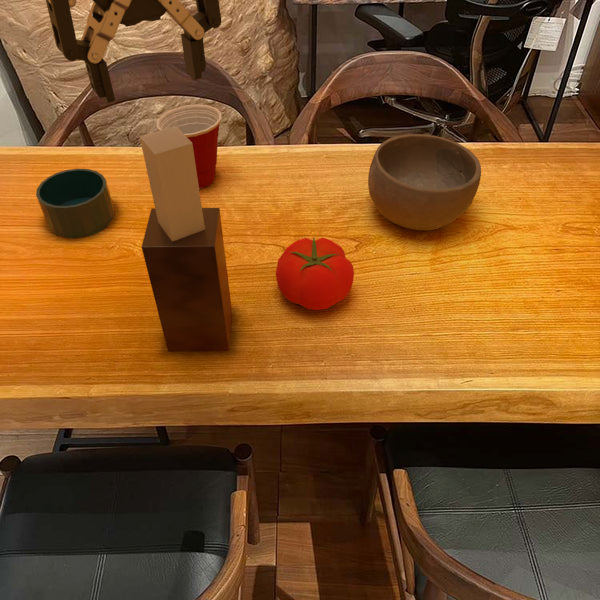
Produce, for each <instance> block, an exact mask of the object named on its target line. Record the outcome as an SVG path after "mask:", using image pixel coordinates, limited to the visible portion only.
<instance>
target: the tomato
mask: <svg viewBox="0 0 600 600" xmlns="http://www.w3.org/2000/svg"><path fill="white" fill-rule="evenodd" d="M354 269H355V268H354V266H353V264H352V262H351V260H349V259H348V258H347V257H346V253H345V250H344V248H343V247H342V246H341V245H339V244H338V243H336V242H334V241H333V240H331V239H329V238H325V237H320V238H318V239H315V237H313V238H312V239H310V238H308V237H304V238H301V239H297V240H296V241H294V242H292V243H291V244H289V245H288V246H287V247H286V248H285V249H284V251H283V253H282V254H281V255H280V256H279V258H278V260H277V264H276V269H275V279H276V283H277V288H278V290H279V291H280V292H281V294H282V295H283V296H284V297H285V299H286V300H288V301H289V302H291V303H293V304H295V305H296V304H297V305H301V306H302V307H304V308H305V309H307V310H314V311H317V310H327V309H329V308H331V307H333V306H334V305H336V304H338V303H340V302H341V301H343V300H345V298H346V297H347V296H348V295H349V292H350V291H351V289H352V287H353V283H354V279H355V278H354V276H355V271H354Z"/></svg>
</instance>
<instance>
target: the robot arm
mask: <svg viewBox="0 0 600 600" xmlns="http://www.w3.org/2000/svg"><path fill="white" fill-rule="evenodd" d="M45 4H46V8H47V11H48V16H49V20H50V24H51V29H52V34H53V38H54V42H55V46H56V48H57V49H58V50H59V52H61V53H62V55H63V56H64V58H65V60H67V61H70V62H75V61H83V62H84V65H85V67H86V68H85V69H86V72H87V76H88V80H89V84H90V87H91V89H92V91H94V93H95V94H96V95H97V97H98V98H99V99H103V100H104V102H105V103H107V104H109V103H113V102H115V101H116V98H115V93H114V89H113V85H112V80H111V76H110V71H109V68H108V64H107V63H108V62H107V61H106V60H105V59H104V54H105V53H106V50H107V48H108V46H109V43H110V42H111V41H113V40H114V38H115V36H116V34H117V32H118V29H119V27H120V25H123V26H125V28H127V27H133V26H136V25H138V24H140V23H142V22H156V21H160V20H162V16H164V15H165V14H167V15H168V16H170V18H171V19H172V20H173V21H174V22H175V23H176V24H177V25H178V26H179V27H180V28H181V29H182V30H183V33H180V39H181V45H182V51H183V52H182V53H183V59H184V66H185V67H184V68H185V71H186V74H187V75H188V76H189V77H190V78H191V79H192V80H193V81H197V80H201V79H202V78H203V74H202V73H203V72H206V68H207V61H206V54H205V46H204V37H205V34H206V33H207V32H208V31H210V30H211V29H218V28H219V27H220V26H221V25H222V15H221V7H220V1H219V0H195V4H196V10H197V12H196V13H195V14H193V15H192V14H191V13H190V12H189V10H188V9H187V8H186V7H185V6H184V5H183V4H182V3H181V2H180V1H179V0H92V4H91V7H90V10H89V12H88V15H87V18H86V25H85V26H86V27H85V28H84V31H83V34H82V36H81V38H80V39H77V36H76V32H75V31H76V30H75V28H74V27H75V26H74V22H73V16H72V12H71V11H72V10H71V9H73V8H74V7H75V6H76V4H77V0H45Z"/></svg>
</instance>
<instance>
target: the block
mask: <svg viewBox="0 0 600 600" xmlns="http://www.w3.org/2000/svg"><path fill="white" fill-rule="evenodd" d="M139 140H140V141H139V142H140V145H141V149H142V154H143V158H144V163H145V168H146V172H147V177H148V181H149V186H150V191H151V196H152V200H153V205H154V208H155V210H156V214H157V219H158V223H159V224H160V226H161V227H162V228H163V230H164V231H165V232H166V234H167V235H168V237H169V238H170V239H171V241H172V242H173V241H176V240H178V239H181V238H184V237H187V236H189V235H192V234H195V233H197V232H200V231H203V230H205V226H204V219H203V212H202V208H203V206H202V200H201V193H200V188H199V185H198V178H197V171H196V165H195V158H194V151H193V144H192V142H191V141H190V140H189V139H188V138H187V137H186V136H185V135H184V134H183V133H182V132H181V130H180V129H179V128H178V127H177V126H173V127H170V128H167V129H163V130H160V131H159V130H157V131H153V132H150V133H146V134H143V135H139Z"/></svg>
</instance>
